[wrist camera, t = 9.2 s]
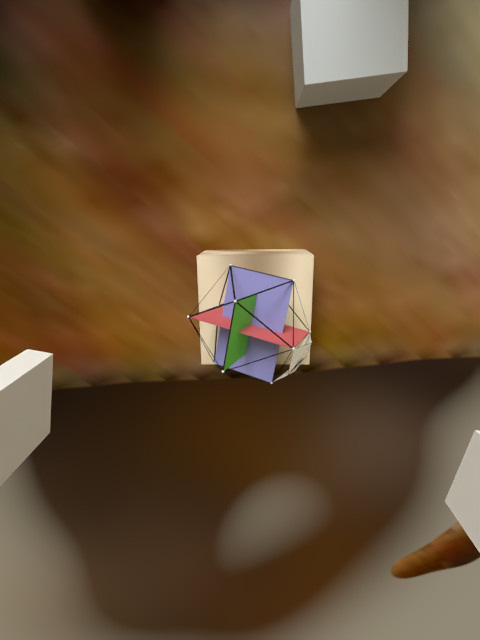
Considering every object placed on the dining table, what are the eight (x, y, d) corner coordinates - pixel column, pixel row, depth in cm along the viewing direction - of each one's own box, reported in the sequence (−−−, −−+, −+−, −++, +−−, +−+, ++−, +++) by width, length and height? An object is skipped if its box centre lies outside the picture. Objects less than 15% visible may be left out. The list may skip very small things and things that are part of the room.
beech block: (209, 341, 32) (201, 364, 27) (205, 249, 30) (196, 256, 25) (300, 341, 32) (309, 364, 27) (304, 248, 29) (314, 255, 25)
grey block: (295, 108, 26) (304, 84, 22) (289, 11, 25) (298, -39, 20) (378, 98, 26) (407, 71, 21) (378, -2, 24) (409, -56, 20)
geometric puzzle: (165, 354, 25) (229, 416, 19) (178, 253, 23) (253, 286, 17) (249, 346, 29) (323, 395, 23) (265, 261, 27) (351, 289, 21)
